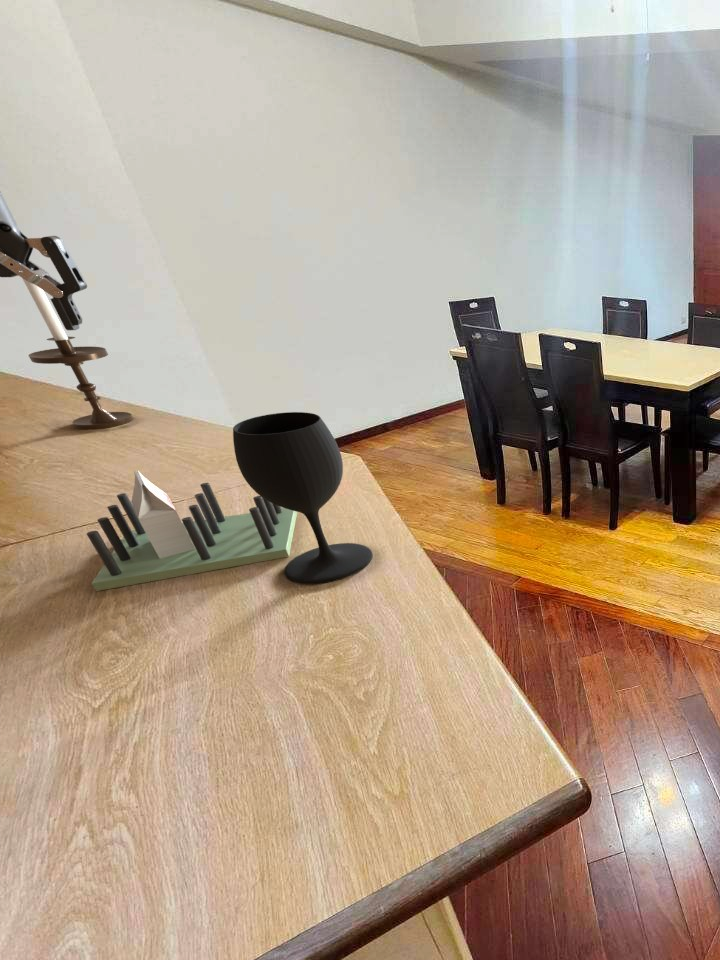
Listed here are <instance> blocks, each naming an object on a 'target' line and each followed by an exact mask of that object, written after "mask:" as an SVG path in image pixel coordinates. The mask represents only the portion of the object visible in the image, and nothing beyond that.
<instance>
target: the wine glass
mask: <svg viewBox="0 0 720 960" xmlns="http://www.w3.org/2000/svg"><path fill="white" fill-rule="evenodd" d="M232 438H233V439H232V440H233V449H234V455H235V460H236V463H237V466H238V469H239V471H240V473H241V475H242V477H243V479H244V480H245V482H246V483H247V485H248V486H249V487H250V488H251V489H252V490H253V491H254V492H255V493H256V494H257V495H258V496H261V497H263V498H264V499H266V500H268V501H269V502H271V503H273V504H275V505H278V506H280V507H281V508H286V509H289V510H292V511H296V512H297V513H301V514H303V515H304V516H305V518H306V519H307V522H308V523H309V525H310V527H311V529H312V531H313V534H314V536H315V539H316V542H317V546H318V547H316V548H312V549H310V550H307V551H305V552H303V553H301V554H299V555H297V556H295V557H294V558H293V559H291V560H290V561H289V562H288V563H287V564H286V566H285V567H284V569H283V570H284V571H283V574H284V576H285V578H286V579H287V580H288V581H290V582H292V583H295V584H300V585H320V584H325V583H331V582H335V581H338V580H342V579H345V578H347V577H350V576H353V575H354V574H357V573H358V572H360V571H361V570H363V569H365V568H366V567H367V566H368V565H369V564H370V563H371V561H372V559H373V558H374V557H373V552H372V550H371V549H370V548H369V547H368V546H366V545H364V544H360V543H356V542H355V543H354V542H350V543H349V542H344V543H343V542H342V543H341V542H339V543H331V544H329V542H328V541H327V539H326V537H325V533H324V531H323V528H322V524H321V520H320V514H319V513H320V509H321V508H323V507H324V506H325V505H326V503H328V502H329V501H330V500H331V499H332V497H333V496H334V495H335V494H336V492H337V490H338V489H339V487H340V485H341V482H342V479H343V474H344V464H343V463H344V462H343V458H342V453H341V450H340V447H339V446H338V443H337V441H336V439H335V437H334V436H333V434H332V432H331V430H330V429H329V428H328V425H327V424H326V423H325V421H324V420H323V419H322V417H321V416H320V415H318V414H316V413H312V412H305V411H304V412H303V411H289V412H288V411H287V412H277V413H276V412H275V413H270V414H263V415H259V416H254V417H250V418H248V419H245V420H243V421H239V422H238V423H236V424H235V425H234V426H233V428H232Z"/></svg>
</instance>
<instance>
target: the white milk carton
mask: <svg viewBox="0 0 720 960" xmlns="http://www.w3.org/2000/svg"><path fill="white" fill-rule="evenodd" d="M131 503H132V505H133V507H134V510H135V512H136V515H137V517H138V519H139V521H140V523H141V525H142V527H143V529H144V530H145V532H146V534H147V536H148V538H149V540H150V542H151V544H152V545H153V547H154V549H155V551H156V553H157V555H158V557H159V558H164V557H168V556H172V555H175V554H179V553H183V552H187V551H191V550H194V549H195V548H194V546H193V544H192V542H191V540H190V538H189V536H188V534H187V532H186V530H185V528H184V526H183V524H182V523H183V522H182V519H181V518H180V516H179V514H178V512H177V510H176V508H175V506H174V504H173V502H172V500H171V499H170V497H169V495H168V494H167V493H166V492H164V491H163V490H162V489H161V488H159V487H158V486H156V485H155V484H154V483H152V482H151V481H150V480H149V479H148V478H146V477H145V476H144V475H143V474H142V473H141V472H140V471H139V470H136V471H135V470H134V485H133V491H132V497H131Z"/></svg>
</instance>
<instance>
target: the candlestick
mask: <svg viewBox="0 0 720 960" xmlns="http://www.w3.org/2000/svg"><path fill="white" fill-rule="evenodd" d="M21 279H22V281H23V283H24V284H25V286H26V288H27V290H28V292H29V294H30V296H31V298H32V300H33V301H34V303H35V305H36V308H37V309H38V311H39V313H40V315H41V317H42V319H43V321H44V323H45V325H46V326H47V328H48V330H49V332H50V334H51V336H52V337H50V338H49V337H48V338H47V339H46V341H53V342H54V343H55V344H56V346H57V348H50V349H44V350H43V349H42V350H37V351H34V352H31V353H29V354H28V358H29V360H30V361H31V362H32V363H34V364H42V365H43V364H48V365H51V364H56V365H57V364H62V365H64V366H66V367H70V368H71V370H72V372H73V374H74V375H75V378H76V380H77V382H78V383H79V384H77V385H76V387H75V388H76V390H78V391H79V392H80V393H83V395H84V396H85V397H84V398H83V400H84V402H89V405H90V406H91V408H92V412H91V414H88V415H84V416H81V417H78V418H76V419H74V420H72V424H73V426H74V428H75V429H79V430H99V429H108V428H113V427H117V426H123V425H126V424H128V423H130V422H132V421H133V420H134V417H133V414H132V413H131V412H127V411H107V410H106V409H104V408H103V407H102V405H101V403H100V402H99V400H101V396H98V395H97V394H96V393H95V391H96V390H97V385H96V384H95V383H92V382H90V381H89V380H88V378H87V376H86V374H85V372H84V371H83V369H82V367H81V365H84V364H85V362H88V361H95V360H98V359H102V358H106V357H108V356H109V353H108V351H107V349H106V347H102V346H73V344H72V342H71V340H73V339H76V337H75V336H67V334H66V332H65V330H64V327H63V326H62V324H61V322H60V320H59V318H58V316H57V313H55V310H54V309H53V305H51V303H50V301H49V298H48V297H47V294H46V292H45V291H44V290H42V289H41V288H39V287H38V286H36V285H34V284H32V283H30V282H28V281H26V280H25V279H23V278H22V277H21Z"/></svg>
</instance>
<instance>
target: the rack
mask: <svg viewBox="0 0 720 960" xmlns="http://www.w3.org/2000/svg"><path fill="white" fill-rule="evenodd" d="M200 488H201V490H202V492H203V493H202V492H200V493H196V494H194V498H195V500H196V503H197V504H191V505H189V506H188V510H189V512H190V514H191V516H192V517H191V516H186V517H183V518H181V522H182V524H183V526H184V528H185V530H186V532H187V534H188V536H189V538H190V540H191V542H192V544H193V546H194V548H195V549H194V550H191V551H187V552H183V553H179V554H175V555H172V556H168V557H164V558H159V557H158V555H157V553H156V551H155V549H154V547H153V545H152V544H151V542H150V540H149V538H148V536H147V534H146V532H145V530H144V529H143V527H142V525H141V523H140V521H139V519H138V517H137V515H136V512H135V510H134V507H133V505H132V500H130V497H129V495H128V493H125V492H124V493H119V494H117V495H116V498H117V499H118V501H119V504H120V505H121V507H122V509H123V511H124V512H125V514H126V516H127V518H128V520H129V522H130V523H131V525H132V527H133V530H132V529H131V526H130V525H129V523H128V521H127V520H126V518H125V516H124V514H123V512H122V511H121V509H120V507H119V505H118V504H111V505H108V506H107V507H106V508H107V510H108V511H109V513H110V515H111V517H112V518H113V520H114V522H115V524H116V526H117V528H118V529H119V531H120V533H121V535H122V538H120V536H119V534H118V532H117V531H116V529H115V528H114V525H113V524H112V522H111V520H110V519H109V517H107V516H105V517H100V518H98V519H97V522H98V524H99V526H100V528H101V529H102V531H103V533H104V534H105V536H106V538H107V539H108V541H109V543H110V545H111V547H112V549H113V551H112V552H111V551H110V550H109V548H108V546H107V545H106V543H105V541H104V540H103V537H102V535H101V534H100V531H98V530H91V531H88V532H87V533H86V536H87V537H88V539H89V541H90V543H91V544H92V546H93V548H94V549H95V551H96V553H97V554H98V556H99V557H100V559H101V561H102V562H103V563H102V564H103V565H102V566H101V568H100V570H99V572H98V573H97V574H96V576H95V578H94V579H93V580H92V582H91V585H92V587H93V589H94V590H95V591H96V592H99V591H104V590H111V589H116V588H122V587H127V586H133V585H138V584H144V583H149V582H156V581H160V580H161V581H162V580H166V579H172V578H177V577H184V576H188V575H194V574H200V573H206V572H211V571H216V570H222V569H228V568H233V567H238V566H244V565H250V564H256V563H261V562H266V561H267V562H268V561H271V560H272V561H273V560H278V559H283V558H289V557H290V553H291V548H292V543H293V537H294V532H295V526H296V522H297V516H298V512H296V511H292V510H289V509H286V508H283V507H280V506H278V505H275V504H273V503H271V502H269V501H268V500H266V499H264V498H263V497H261V496H260V495H256V496H253V499H252V500H253V502H254V504H255V506H254V507H250V508H249V509H248V511H249V512H248V513H240V514H234V515H227V516H225V514H224V513H223V511H222V508H221V507H220V506H221V505H220V504H219V502H218V500H217V497H216V496H215V493H214V491H213V489H212V487H211V484H210V483H209V482H203V483H200Z"/></svg>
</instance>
